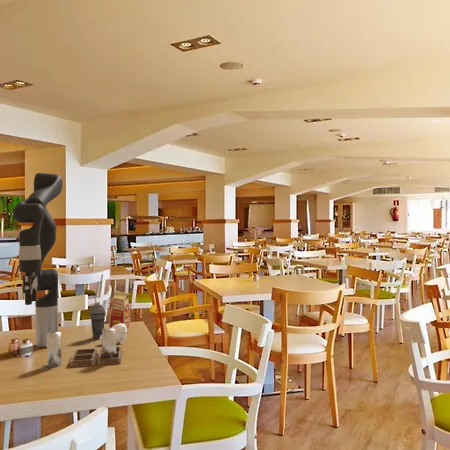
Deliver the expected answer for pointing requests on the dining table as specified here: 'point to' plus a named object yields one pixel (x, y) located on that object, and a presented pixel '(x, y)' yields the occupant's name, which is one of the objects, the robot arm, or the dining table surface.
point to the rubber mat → (44, 368)
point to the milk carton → (120, 310)
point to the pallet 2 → (110, 360)
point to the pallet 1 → (83, 357)
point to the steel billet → (54, 349)
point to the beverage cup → (97, 319)
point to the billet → (109, 342)
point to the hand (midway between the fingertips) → (31, 302)
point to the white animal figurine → (119, 333)
